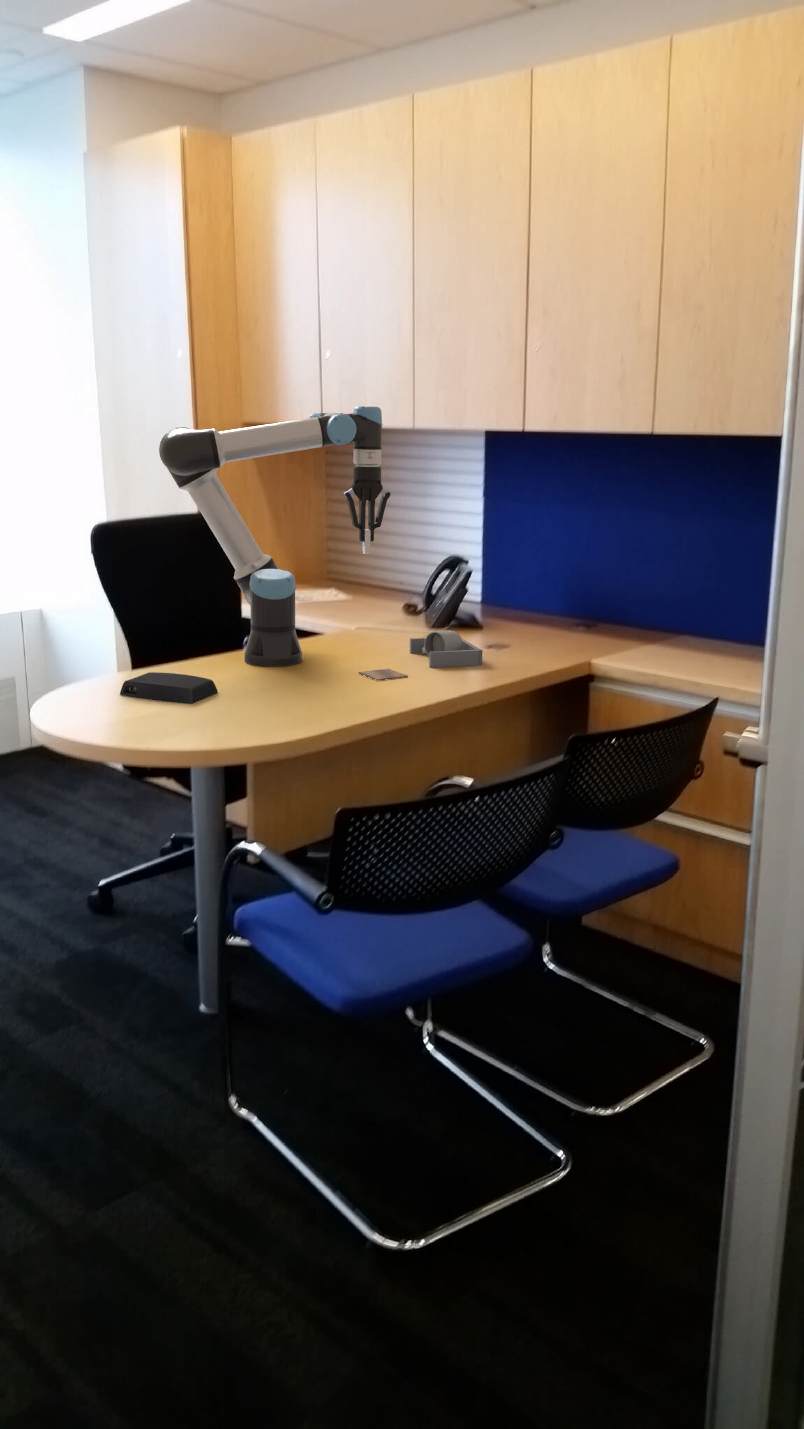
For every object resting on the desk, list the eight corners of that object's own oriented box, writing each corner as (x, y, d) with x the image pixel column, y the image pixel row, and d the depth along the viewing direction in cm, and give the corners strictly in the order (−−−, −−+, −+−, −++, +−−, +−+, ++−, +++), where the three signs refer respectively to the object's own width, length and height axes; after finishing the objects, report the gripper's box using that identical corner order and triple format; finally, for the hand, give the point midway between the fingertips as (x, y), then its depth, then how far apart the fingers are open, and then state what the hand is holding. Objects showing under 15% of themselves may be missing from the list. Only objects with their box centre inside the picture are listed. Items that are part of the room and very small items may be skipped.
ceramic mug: (464, 657, 311) (464, 629, 309) (444, 661, 305) (445, 633, 303) (434, 652, 318) (434, 624, 316) (414, 656, 312) (415, 628, 310)
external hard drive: (149, 685, 275) (149, 669, 274) (220, 694, 268) (219, 677, 267) (117, 697, 263) (116, 680, 262) (190, 707, 256) (189, 689, 255)
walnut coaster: (376, 683, 282) (376, 679, 282) (358, 676, 289) (358, 672, 289) (407, 679, 287) (407, 675, 286) (388, 672, 294) (388, 668, 294)
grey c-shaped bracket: (430, 667, 298) (430, 652, 297) (409, 652, 316) (409, 638, 315) (481, 665, 301) (482, 650, 300) (458, 650, 319) (458, 636, 318)
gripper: (346, 466, 302) (346, 555, 308) (394, 466, 306) (392, 554, 312) (340, 464, 309) (340, 552, 315) (387, 465, 313) (385, 551, 319)
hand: (366, 553), depth 314 cm, fingers closed
